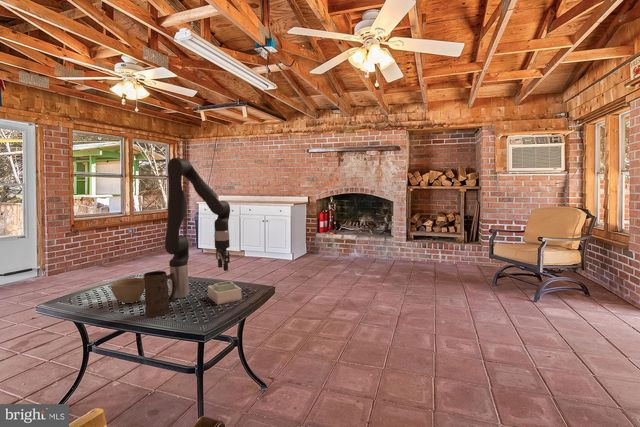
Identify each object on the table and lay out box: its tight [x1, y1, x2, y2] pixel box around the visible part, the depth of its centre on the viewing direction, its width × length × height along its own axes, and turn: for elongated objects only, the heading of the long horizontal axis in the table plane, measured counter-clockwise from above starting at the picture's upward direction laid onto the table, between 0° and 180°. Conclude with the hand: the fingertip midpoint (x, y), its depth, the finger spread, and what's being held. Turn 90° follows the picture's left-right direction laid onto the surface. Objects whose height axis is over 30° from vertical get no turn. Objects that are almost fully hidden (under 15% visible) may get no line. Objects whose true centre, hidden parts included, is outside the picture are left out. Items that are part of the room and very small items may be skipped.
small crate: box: [213, 280, 235, 293], centre depth 187 cm, size 9×6×7 cm
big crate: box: [207, 283, 243, 306], centre depth 187 cm, size 13×16×6 cm
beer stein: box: [143, 270, 177, 318], centre depth 169 cm, size 15×11×20 cm
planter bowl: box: [110, 277, 145, 303], centre depth 185 cm, size 16×16×11 cm
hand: (223, 269), depth 186 cm, fingers open, 8 cm apart
